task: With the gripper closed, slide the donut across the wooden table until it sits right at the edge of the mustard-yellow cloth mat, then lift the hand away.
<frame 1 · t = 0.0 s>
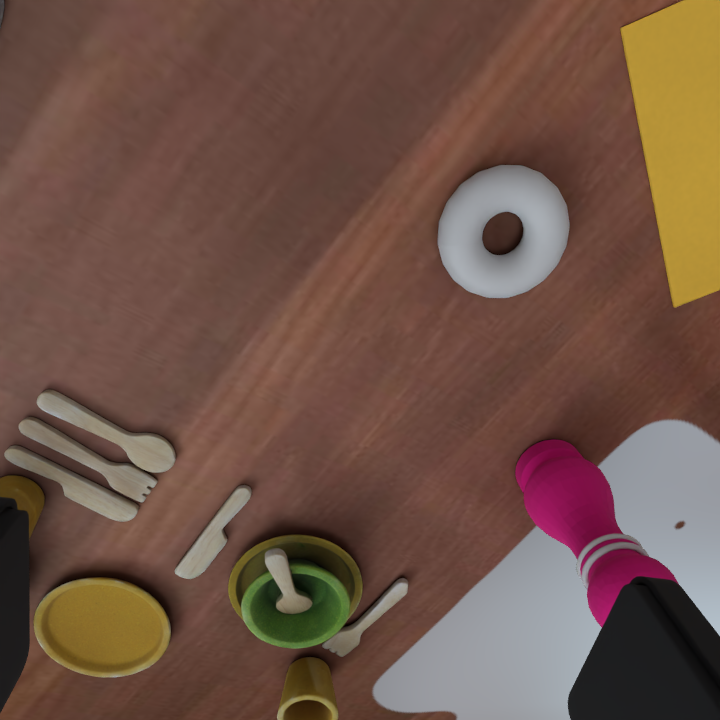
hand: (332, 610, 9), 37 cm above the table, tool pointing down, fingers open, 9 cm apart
tableware set: (175, 582, 56), on the table
pepper mill: (546, 466, 54), on the table
donut: (495, 229, 45), on the table
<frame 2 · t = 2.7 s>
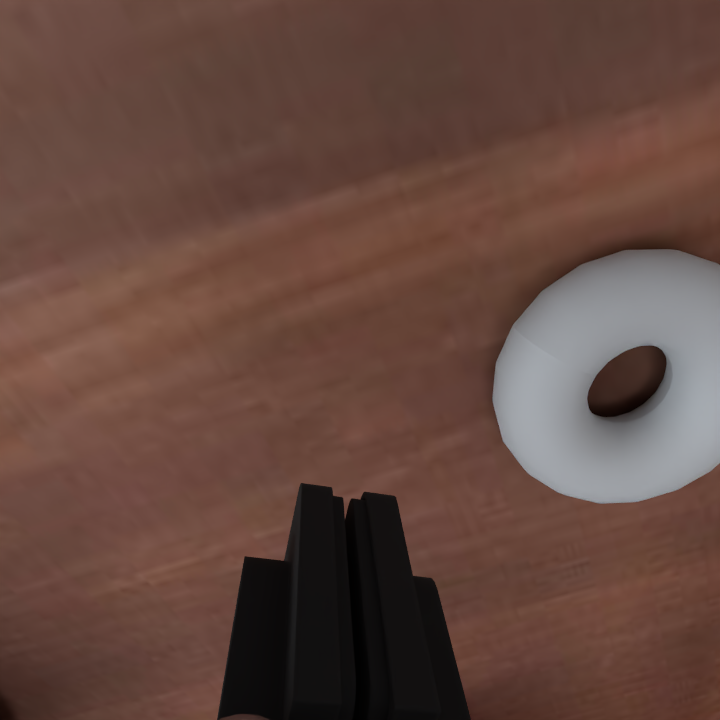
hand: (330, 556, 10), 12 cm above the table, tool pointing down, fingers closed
donut: (605, 363, 23), on the table
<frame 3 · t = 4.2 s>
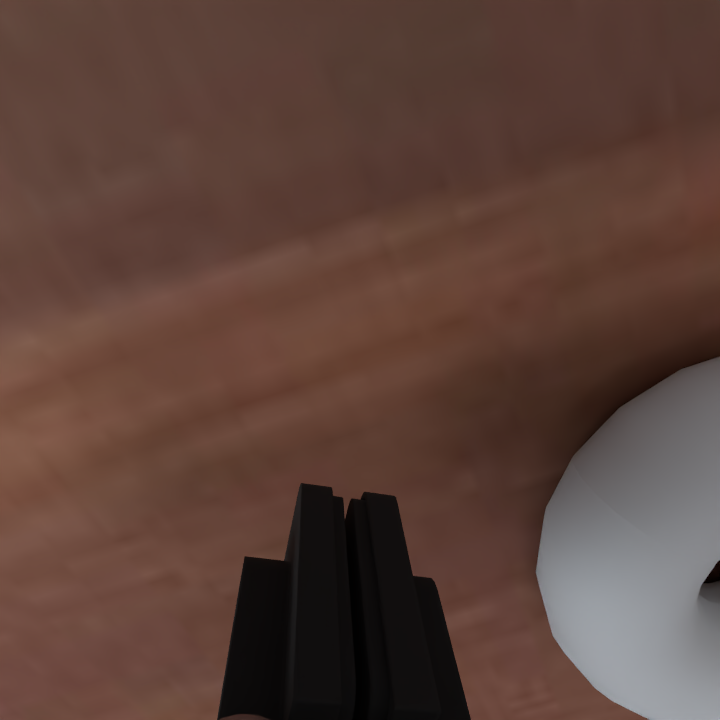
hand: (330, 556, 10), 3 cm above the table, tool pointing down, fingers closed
donut: (705, 499, 15), on the table
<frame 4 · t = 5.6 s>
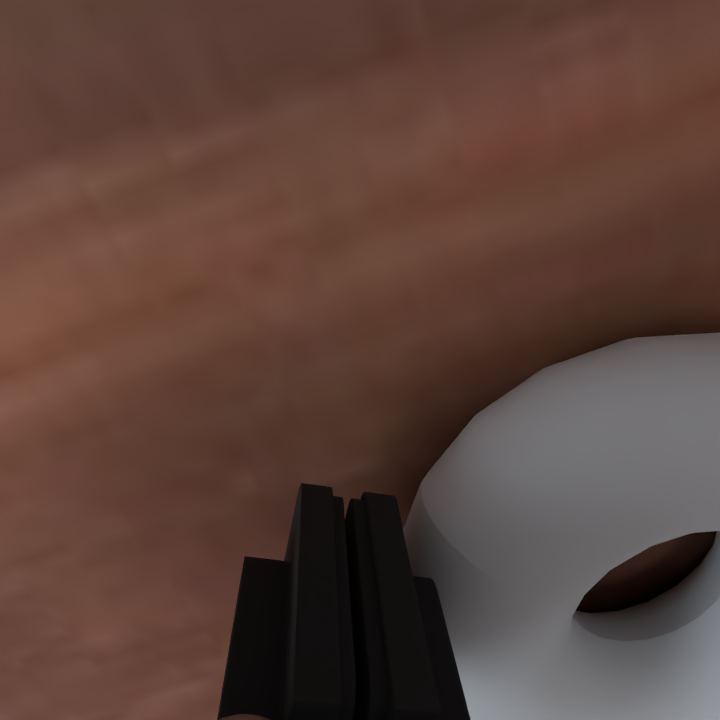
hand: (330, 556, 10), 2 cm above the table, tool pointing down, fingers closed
donut: (604, 516, 13), on the table, touching gripper
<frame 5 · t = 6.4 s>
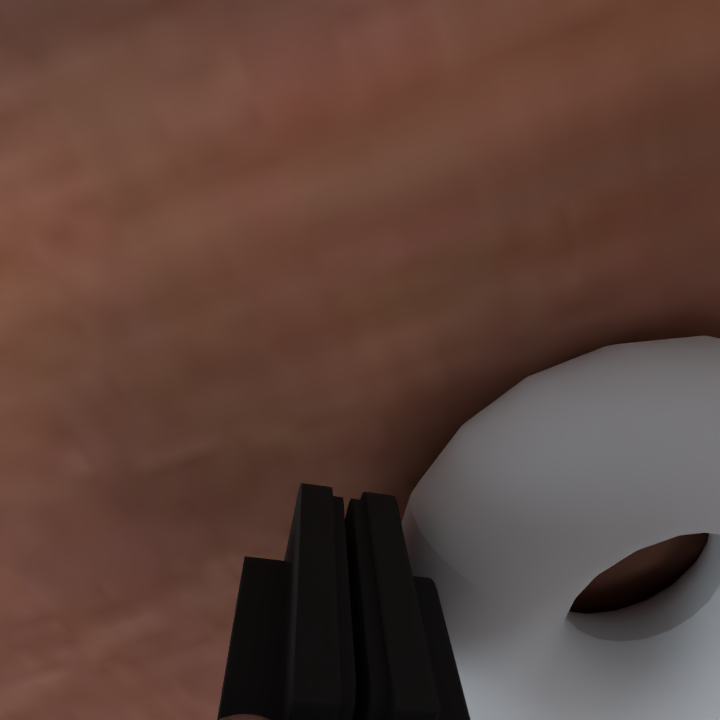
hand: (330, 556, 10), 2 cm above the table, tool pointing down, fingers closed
donut: (598, 517, 13), on the table, touching gripper
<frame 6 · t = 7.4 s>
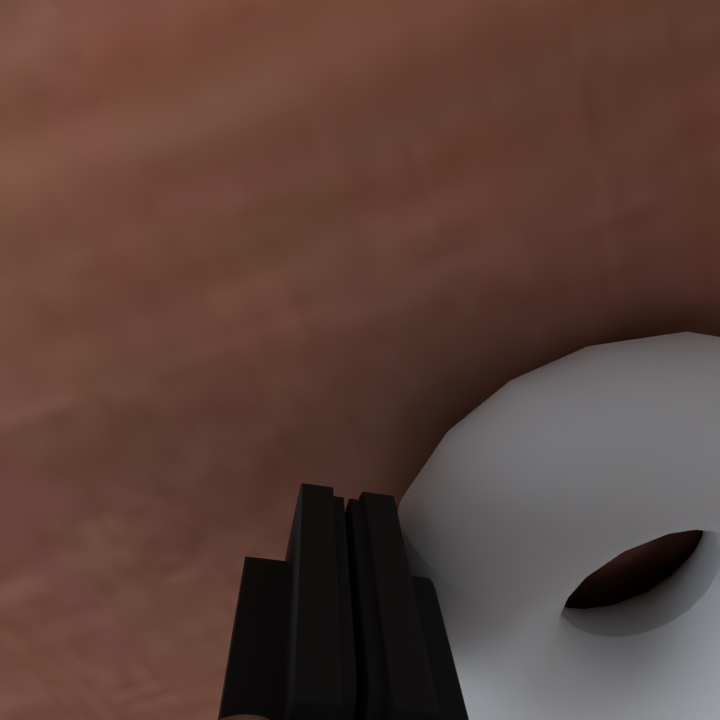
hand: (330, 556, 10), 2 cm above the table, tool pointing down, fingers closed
donut: (593, 513, 13), on the table, touching cloth, gripper
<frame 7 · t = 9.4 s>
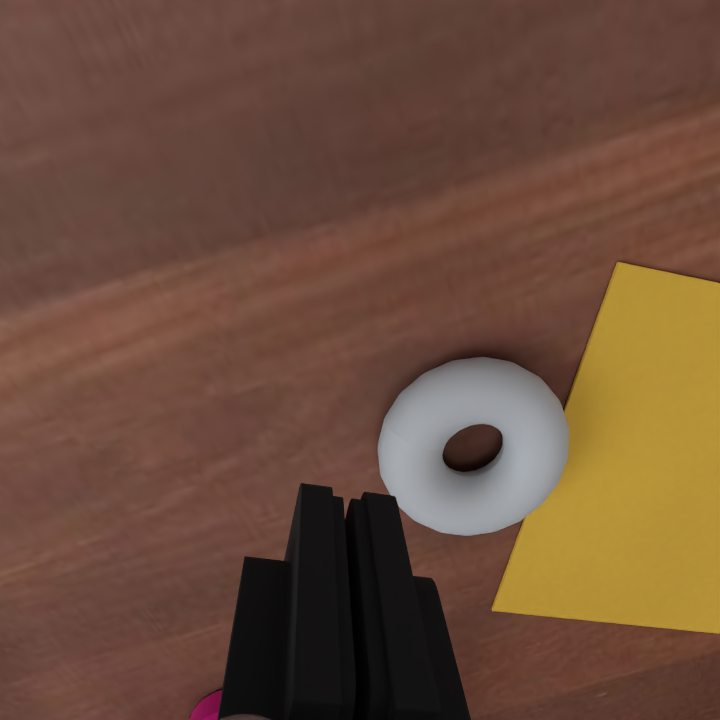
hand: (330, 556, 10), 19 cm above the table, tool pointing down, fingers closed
cloth: (674, 473, 33), on the table
pepper mill: (239, 718, 37), on the table
donut: (463, 431, 31), on the table, touching cloth
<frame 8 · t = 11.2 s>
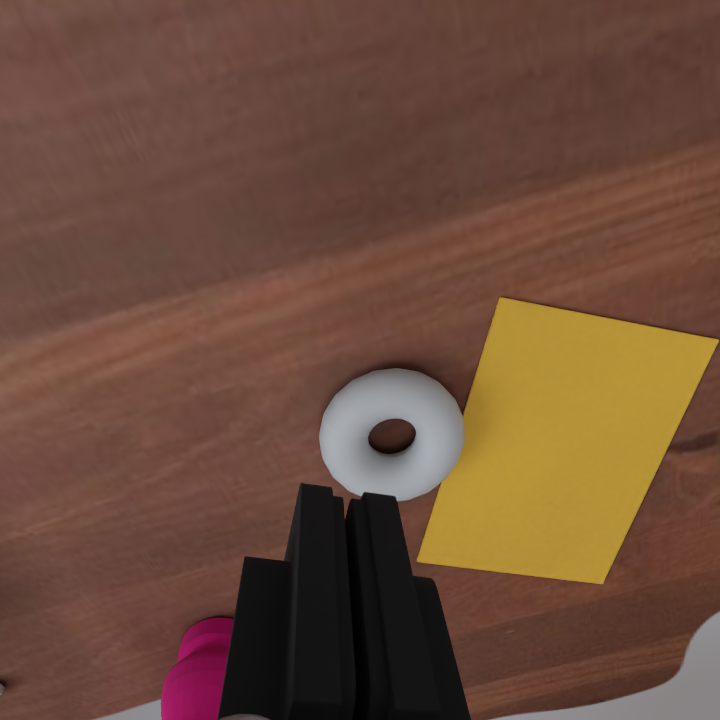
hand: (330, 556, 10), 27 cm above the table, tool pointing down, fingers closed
cloth: (556, 457, 42), on the table
pepper mill: (221, 642, 47), on the table
donut: (388, 423, 41), on the table, touching cloth
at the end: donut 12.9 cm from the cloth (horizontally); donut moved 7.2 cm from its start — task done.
